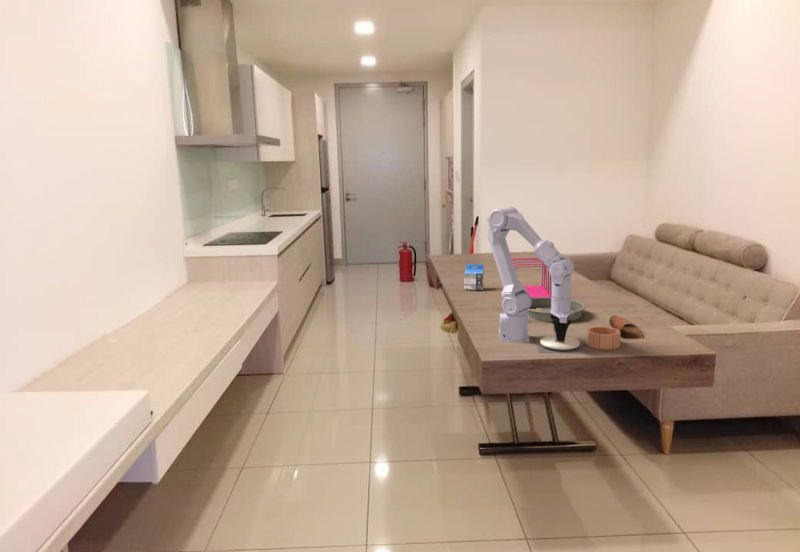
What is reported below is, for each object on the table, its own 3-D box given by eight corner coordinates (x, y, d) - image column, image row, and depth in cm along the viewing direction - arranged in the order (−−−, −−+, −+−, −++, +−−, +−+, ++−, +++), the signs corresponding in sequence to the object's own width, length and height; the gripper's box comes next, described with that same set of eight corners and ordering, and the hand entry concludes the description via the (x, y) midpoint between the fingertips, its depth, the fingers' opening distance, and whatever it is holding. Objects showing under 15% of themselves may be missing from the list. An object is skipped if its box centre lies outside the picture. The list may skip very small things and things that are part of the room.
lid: (542, 349, 171) (542, 335, 170) (538, 337, 183) (538, 324, 182) (582, 350, 169) (583, 336, 168) (576, 338, 181) (576, 325, 180)
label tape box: (464, 290, 264) (463, 265, 262) (465, 288, 268) (465, 263, 265) (482, 291, 261) (482, 265, 259) (484, 289, 265) (483, 264, 262)
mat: (539, 354, 171) (539, 352, 170) (535, 340, 184) (535, 339, 184) (586, 355, 168) (586, 353, 168) (579, 341, 182) (579, 339, 182)
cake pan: (521, 323, 206) (521, 311, 205) (517, 307, 230) (517, 297, 229) (590, 324, 202) (591, 312, 201) (579, 307, 226) (579, 297, 225)
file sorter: (512, 301, 240) (512, 265, 237) (506, 289, 264) (506, 256, 261) (553, 301, 238) (553, 265, 235) (543, 289, 263) (544, 256, 260)
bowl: (589, 350, 173) (590, 334, 172) (584, 341, 182) (584, 326, 181) (622, 351, 171) (622, 335, 170) (615, 341, 180) (615, 326, 180)
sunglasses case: (646, 338, 182) (635, 321, 182) (626, 348, 184) (615, 331, 184) (633, 323, 200) (624, 308, 199) (615, 333, 201) (606, 317, 201)
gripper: (577, 302, 166) (576, 346, 168) (570, 292, 180) (569, 332, 182) (553, 302, 167) (552, 345, 169) (548, 292, 181) (547, 332, 183)
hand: (559, 339), depth 176 cm, fingers closed on lid, 3 cm apart
